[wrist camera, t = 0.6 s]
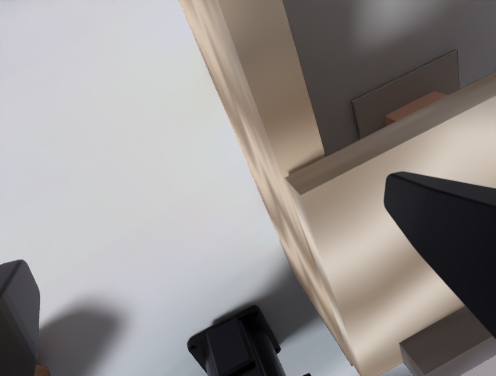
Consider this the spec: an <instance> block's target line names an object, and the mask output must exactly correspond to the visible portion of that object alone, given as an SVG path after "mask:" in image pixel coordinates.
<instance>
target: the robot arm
mask: <svg viewBox="0 0 496 376" xmlns="http://www.w3.org/2000/svg"><path fill="white" fill-rule="evenodd" d="M383 202H384V207H385V209H386V211H387V212H388V213H389V215H390V216H391V217H392V219H393V220H394V222H395V223H396V224H397V226H398V227H399V228H400V230H401V231H402V232H403V234H404V235H405V237H406V238H407V239H408V241H409V242H410V243H411V245H412V246H413V247H414V249H415V250H416V251H417V252H418V254H419V255H420V256H421V257H422V258H423V259H424V260H425V262H426V263H427V264H428V265H429V266H430V267H431V268H432V269H433V270H434V272H435V273H436V274H437V275H438V276H439V277H440V278H441V279H442V280H443V282H444V283H445V284H446V285H447V286H448V287H449V288H450V289H451V290H452V292H453V293H454V294H455V295H456V296H457V297H458V298H459V299H460V300H461V302H462V303H463V304H464V305H465V306H466V307H467V308H468V309H469V310H470V312H471V313H472V314H473V315H474V316H475V317H476V318H477V319H478V321H479V322H480V323H481V324H482V325H483V326H484V327H485V328H486V329H487V331H488V332H489V333H490V334H491V335H492V336H493V337H494V338H495V339H496V188H491V187H486V186H480V185H475V184H470V183H464V182H459V181H454V180H448V179H443V178H437V177H432V176H427V175H421V174H416V173H410V172H405V171H400V172H395V173H391V174H389V175H388V176H387V178H386V182H385V191H384V200H383ZM39 311H40V293H39V289H38V286H37V284H36V282H35V279H34V277H33V275H32V273H31V271H30V268H29V266H28V264H27V263H26V262H25V261H24V260H16V261H11V262H7V263H3V264H1V265H0V376H35V370H36V363H37V352H38V332H39ZM254 312H255V313H254ZM187 347H188V350H189V352H190V353H191V354H192V355H193V357H194V358H195V359H196V360H197V362H198V363H199V364H200V366H201V367H202V368H203V369H204V371H205V372H206V373H207V374H208V376H286V374H285V372H284V370H283V368H282V365H281V363H280V361H279V359H278V356H277V354H278V353H279V352H280V350H281V348H280V346H279V344H278V342H277V340H276V338H275V336H274V335H273V333H272V331H271V329H270V327H269V325H268V323H267V322H266V320H265V318H264V316H263V314H262V312H261V310H260V308H259V307H257V306H253V307H251V308H249V309H247V310H245V311H243V312H242V313H240V314H238V315H236V316H234V317H232V318H230V319H228V320H227V321H225V322H223V323H221V324H219V325H217V326H215V327H213V328H212V329H210V330H208V331H206V332H204V333H202V334H200V335H198V336H196V337H195V338H193V339H191V340H189V341H188V343H187ZM303 376H311V375H310V373H308V374H305V375H303Z"/></svg>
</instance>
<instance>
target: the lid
mask: <svg viewBox="0 0 496 376" xmlns="http://www.w3.org/2000/svg"><path fill="white" fill-rule="evenodd" d="M400 171H405V172H410V173H416V174H421V175H427V176H432V177H437V178H443V179H448V180H454V181H459V182H464V183H470V184H475V185H480V186H486V187H491V188H496V71H495V72H493V73H491V74H489V75H487V76H485V77H483V78H481V79H479V80H477V81H475V82H473V83H471V84H469V85H467V86H465V87H463V88H461V89H459V90H457V91H456V92H454V93H452V94H450V95H448V96H446V97H444V98H442V99H440V100H438V101H436V102H434V103H432V104H430V105H428V106H426V107H424V108H422V109H420V110H418V111H416V112H414V113H412V114H410V115H408V116H406V117H404V118H402V119H400V120H398V121H396V122H394V123H392V124H390V125H388V126H386V127H384V128H382V129H380V130H378V131H376V132H374V133H372V134H370V135H368V136H366V137H364V138H362V139H360V140H358V141H356V142H354V143H352V144H351V145H349V146H347V147H345V148H343V149H341V150H339V151H337V152H335V153H333V154H331V155H329V156H327V157H325V158H323V159H321V160H319V161H317V162H315V163H313V164H311V165H309V166H307V167H305V168H303V169H301V170H299V171H297V172H295V173H293V174H291V175H289V176H287V177H285V181H286V183H287V186H288V189H289V192H290V194H291V197H292V200H293V203H294V205H295V208H296V211H297V214H298V217H299V219H300V222H301V225H302V228H303V230H304V233H305V236H306V239H307V241H308V244H309V247H310V250H311V252H312V255H313V258H314V261H315V263H316V266H317V269H318V272H319V274H320V277H321V280H322V283H323V285H324V288H325V291H326V294H327V296H328V299H329V302H330V305H331V307H332V310H333V313H334V316H335V318H336V321H337V324H338V327H339V329H340V332H341V335H342V338H343V340H344V343H345V346H346V349H347V351H348V354H349V357H350V360H351V362H352V364H353V365H354V367H355V368H356V370H357V371H358V373H359V375H360V376H380V375H381V374H383V373H385V372H387V371H389V370H390V369H392V368H394V367H396V366H397V365H399V364H401V363H404V364H405V365H406V367H407V368H408V369H409V370H410V372H411V373H412V374H413V376H460V375H462V374H464V373H465V372H467V371H469V370H470V369H472V368H474V367H476V366H477V365H479V364H481V363H482V362H484V361H486V360H488V359H489V358H491V357H493V356H495V355H496V339H495V338H494V337H493V336H492V335H491V334H490V333H489V332H488V331H487V329H486V328H485V327H484V326H483V325H482V324H481V323H480V322H479V321H478V319H477V318H476V317H475V316H474V315H473V314H472V313H471V312H470V310H469V309H468V308H467V307H466V306H465V305H464V304H463V303H462V302H461V300H460V299H459V298H458V297H457V296H456V295H455V294H454V293H453V292H452V290H451V289H450V288H449V287H448V286H447V285H446V284H445V283H444V282H443V280H442V279H441V278H440V277H439V276H438V275H437V274H436V273H435V272H434V270H433V269H432V268H431V267H430V266H429V265H428V264H427V263H426V262H425V260H424V259H423V258H422V257H421V256H420V255H419V254H418V252H417V251H416V250H415V249H414V247H413V246H412V245H411V243H410V242H409V241H408V239H407V238H406V237H405V235H404V234H403V232H402V231H401V230H400V228H399V227H398V226H397V224H396V223H395V222H394V220H393V219H392V217H391V216H390V215H389V213H388V212H387V211H386V209H385V207H384V202H383V200H384V191H385V182H386V178H387V176H388V175H389V174H391V173H395V172H400Z"/></svg>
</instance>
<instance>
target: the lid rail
mask: <svg viewBox="0 0 496 376" xmlns="http://www.w3.org/2000/svg"><path fill="white" fill-rule="evenodd" d="M179 2H180V4H181V6H182V9H183V11H184V13H185V16H186V18H187V21H188V23H189V25H190V28H191V30H192V33H193V35H194V37H195V40H196V42H197V44H198V47H199V49H200V52H201V54H202V56H203V59H204V61H205V64H206V66H207V68H208V71H209V73H210V75H211V78H212V80H213V83H214V85H215V87H216V90H217V92H218V94H219V97H220V99H221V102H222V104H223V106H224V109H225V111H226V114H227V116H228V118H229V121H230V123H231V125H232V128H233V130H234V133H235V135H236V137H237V140H238V142H239V145H240V147H241V149H242V152H243V154H244V156H245V159H246V161H247V164H248V166H249V168H250V171H251V173H252V175H253V178H254V180H255V183H256V185H257V187H258V190H259V192H260V195H261V197H262V199H263V202H264V204H265V206H266V209H267V211H268V214H269V216H270V218H271V221H272V223H273V226H274V228H275V230H276V233H277V235H278V237H279V240H280V242H281V245H282V247H283V249H284V252H285V254H286V257H287V259H288V261H289V264H290V266H291V268H292V271H293V273H294V275H295V277H296V279H297V280H298V282H299V283H300V285H301V286H302V288H303V290H304V291H305V293H306V294H307V296H308V298H309V299H310V301H311V302H312V304H313V305H314V307H315V309H316V310H317V312H318V313H319V315H320V317H321V318H322V320H323V321H324V323H325V324H326V326H327V328H328V329H329V331H330V332H331V334H332V336H333V337H334V339H335V340H336V342H337V343H338V345H339V347H340V348H341V350H342V351H343V353H344V355H345V356H346V358H347V359H348V361H349V362H350V364H351V366H352V365H353V364H352V362H351V360H350V357H349V354H348V351H347V349H346V346H345V343H344V340H343V338H342V335H341V332H340V329H339V327H338V324H337V321H336V318H335V316H334V313H333V310H332V307H331V305H330V302H329V299H328V296H327V294H326V291H325V288H324V285H323V283H322V280H321V277H320V274H319V272H318V269H317V266H316V263H315V261H314V258H313V255H312V252H311V250H310V247H309V244H308V241H307V239H306V236H305V233H304V230H303V228H302V225H301V222H300V219H299V217H298V214H297V211H296V208H295V205H294V203H293V200H292V197H291V194H290V192H289V189H288V186H287V183H286V181H285V177H287V176H289V175H291V174H293V173H295V172H297V171H299V170H301V169H303V168H305V167H307V166H309V165H311V164H313V163H315V162H317V161H319V160H321V159H323V158H325V157H326V156H325V152H324V148H323V145H322V141H321V138H320V134H319V130H318V127H317V123H316V119H315V116H314V112H313V109H312V105H311V101H310V98H309V94H308V91H307V87H306V83H305V80H304V76H303V73H302V69H301V65H300V62H299V58H298V54H297V51H296V47H295V44H294V40H293V36H292V33H291V29H290V26H289V22H288V18H287V15H286V11H285V7H284V4H283V0H179Z"/></svg>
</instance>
